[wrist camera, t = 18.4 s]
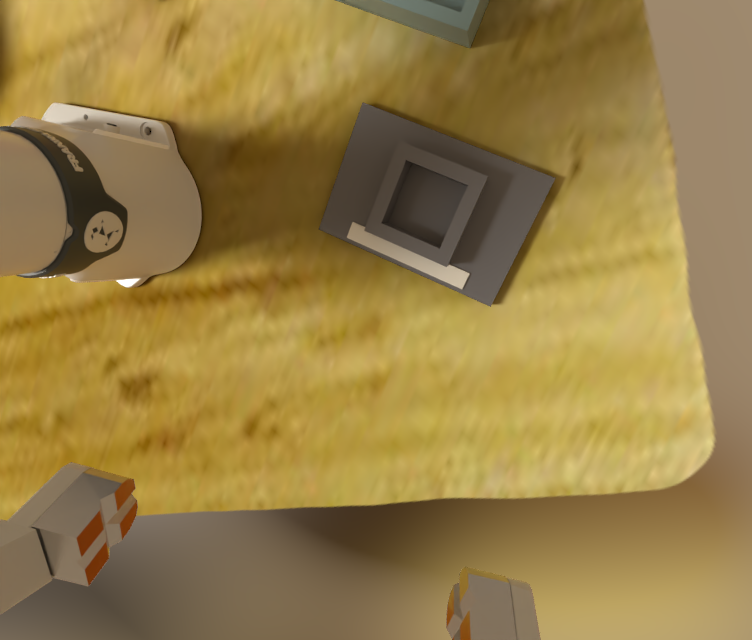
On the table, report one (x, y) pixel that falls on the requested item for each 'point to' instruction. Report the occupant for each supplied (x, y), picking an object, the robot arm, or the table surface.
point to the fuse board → (433, 203)
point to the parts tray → (431, 16)
